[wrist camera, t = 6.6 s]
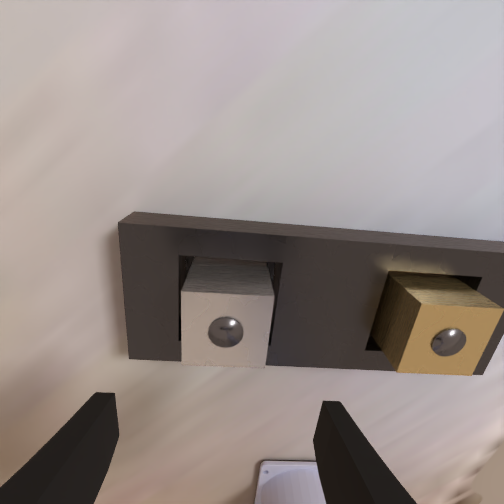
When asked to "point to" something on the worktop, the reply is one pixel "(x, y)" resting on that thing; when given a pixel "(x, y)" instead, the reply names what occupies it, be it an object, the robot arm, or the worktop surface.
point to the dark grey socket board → (293, 283)
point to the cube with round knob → (226, 313)
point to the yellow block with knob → (433, 323)
